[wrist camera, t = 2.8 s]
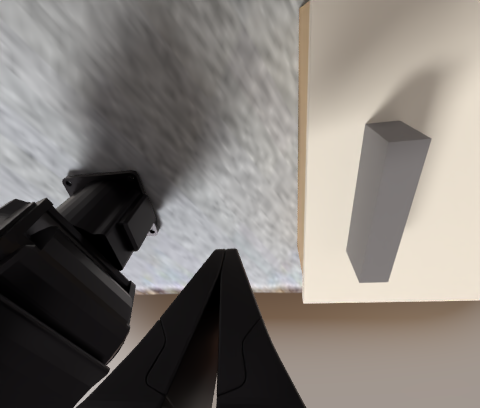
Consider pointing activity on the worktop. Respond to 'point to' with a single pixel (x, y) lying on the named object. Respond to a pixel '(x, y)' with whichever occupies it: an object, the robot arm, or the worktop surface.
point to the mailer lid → (392, 151)
